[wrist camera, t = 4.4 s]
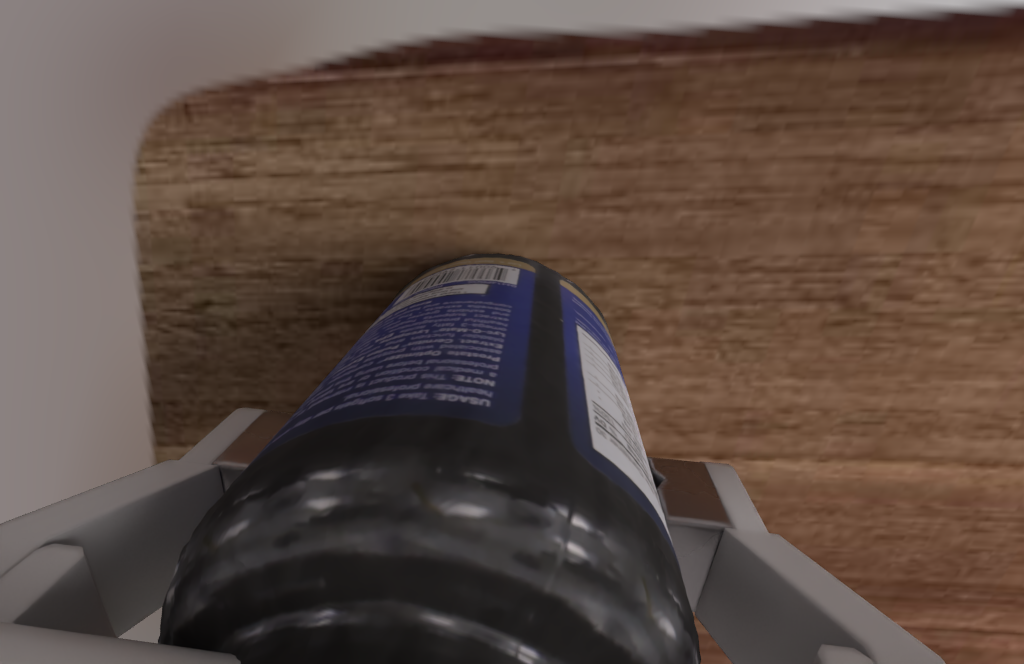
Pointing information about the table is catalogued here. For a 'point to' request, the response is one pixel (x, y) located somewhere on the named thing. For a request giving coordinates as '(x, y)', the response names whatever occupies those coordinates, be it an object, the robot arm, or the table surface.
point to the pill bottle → (448, 498)
